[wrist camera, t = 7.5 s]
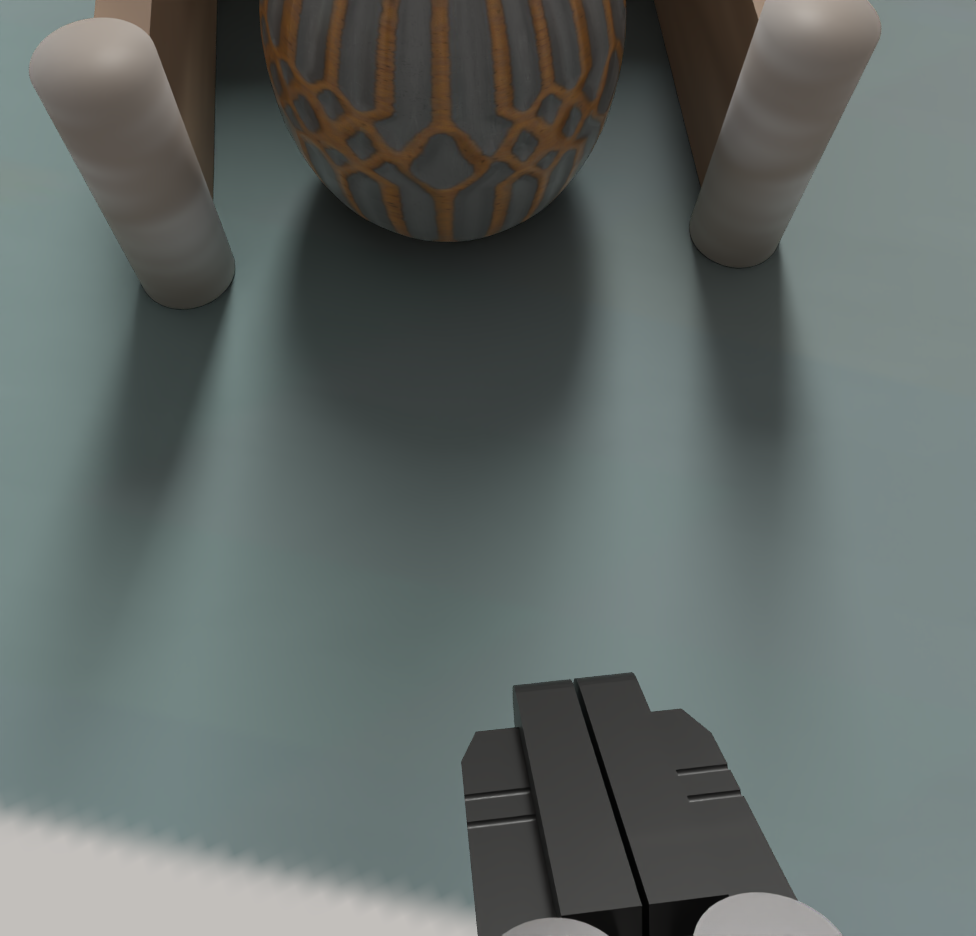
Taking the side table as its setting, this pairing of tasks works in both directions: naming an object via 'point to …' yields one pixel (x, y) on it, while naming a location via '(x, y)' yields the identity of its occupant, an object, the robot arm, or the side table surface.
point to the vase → (444, 103)
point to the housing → (191, 120)
